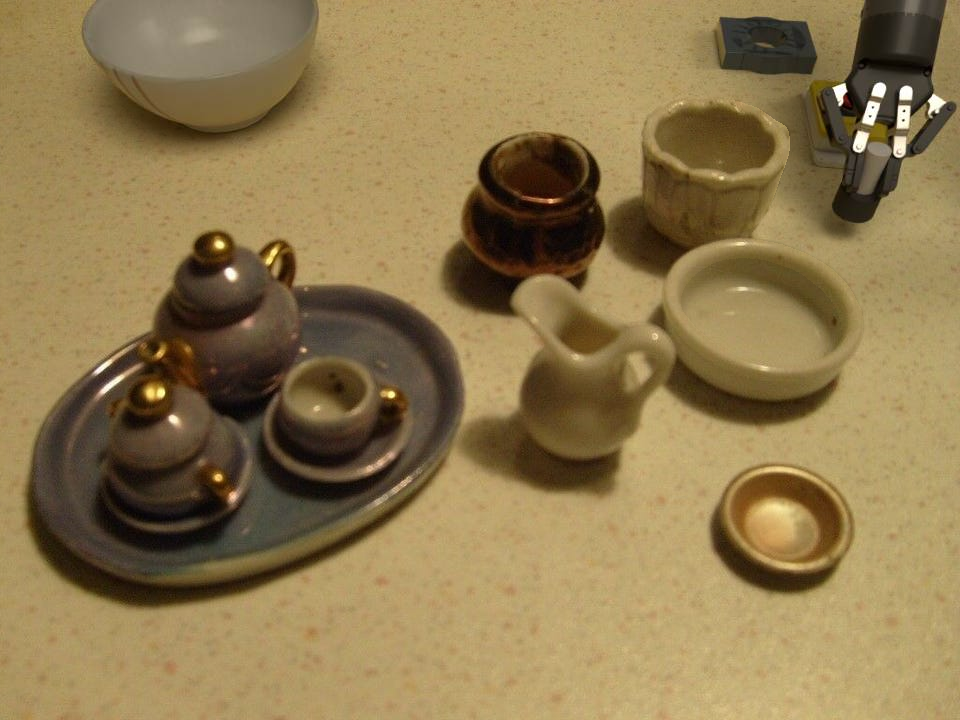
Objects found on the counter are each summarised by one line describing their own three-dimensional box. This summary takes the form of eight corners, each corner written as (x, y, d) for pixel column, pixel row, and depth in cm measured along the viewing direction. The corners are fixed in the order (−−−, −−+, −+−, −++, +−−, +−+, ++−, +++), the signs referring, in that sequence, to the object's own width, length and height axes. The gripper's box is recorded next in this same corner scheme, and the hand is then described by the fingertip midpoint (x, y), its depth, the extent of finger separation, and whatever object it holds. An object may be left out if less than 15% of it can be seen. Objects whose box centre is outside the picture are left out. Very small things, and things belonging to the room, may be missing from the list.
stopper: (868, 197, 94) (897, 136, 87) (877, 224, 91) (906, 163, 85) (828, 195, 94) (853, 134, 88) (835, 222, 91) (861, 161, 85)
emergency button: (885, 69, 108) (908, 142, 98) (872, 99, 111) (893, 172, 102) (810, 63, 108) (825, 135, 99) (799, 93, 112) (813, 165, 102)
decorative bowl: (89, 171, 100) (51, 79, 90) (141, 46, 117) (113, -43, 107) (320, 170, 100) (306, 79, 91) (338, 46, 117) (327, -42, 108)
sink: (800, 35, 121) (806, 18, 119) (812, 76, 114) (818, 59, 112) (714, 30, 121) (718, 14, 119) (721, 71, 115) (726, 54, 113)
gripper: (839, 1, 83) (806, 180, 85) (990, 17, 81) (952, 200, 83) (820, 25, 91) (789, 189, 92) (957, 40, 89) (923, 206, 91)
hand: (867, 193), depth 88 cm, fingers closed on stopper, 2 cm apart
